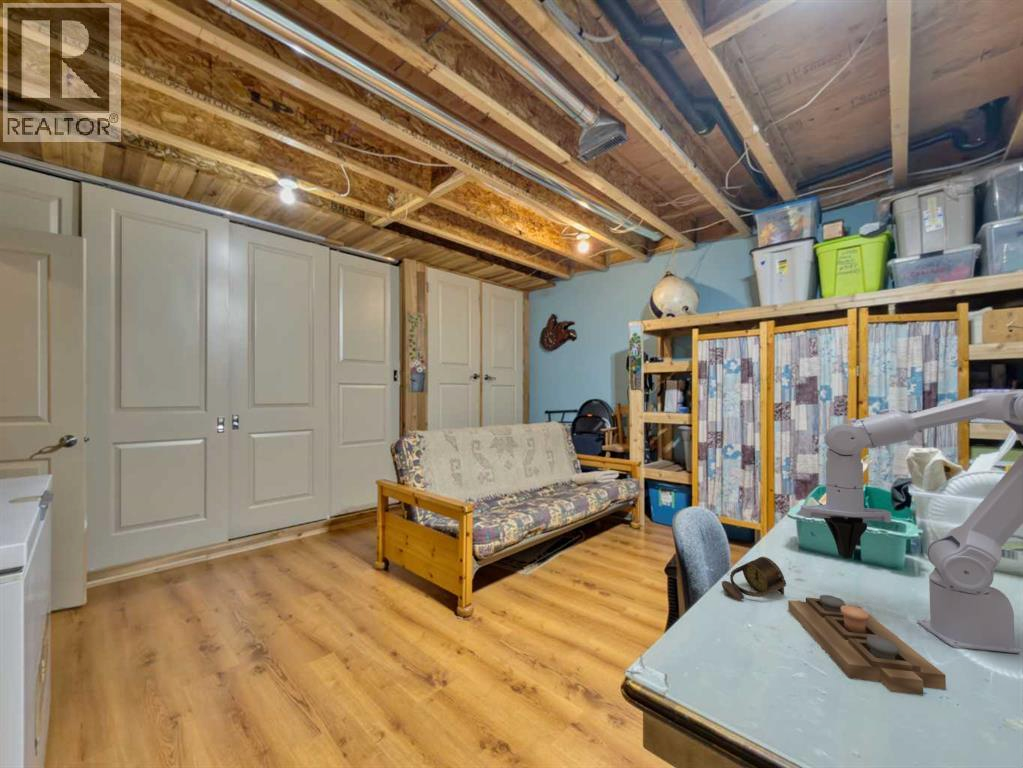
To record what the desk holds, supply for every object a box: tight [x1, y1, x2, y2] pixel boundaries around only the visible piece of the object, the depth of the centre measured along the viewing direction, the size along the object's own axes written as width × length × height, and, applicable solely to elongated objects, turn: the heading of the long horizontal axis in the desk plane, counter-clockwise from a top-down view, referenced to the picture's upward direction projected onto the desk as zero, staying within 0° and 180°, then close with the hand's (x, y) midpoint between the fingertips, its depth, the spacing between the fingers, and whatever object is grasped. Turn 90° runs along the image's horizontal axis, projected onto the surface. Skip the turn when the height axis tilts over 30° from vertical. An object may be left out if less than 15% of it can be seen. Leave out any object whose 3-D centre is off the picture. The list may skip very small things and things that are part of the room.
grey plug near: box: [867, 636, 898, 660], centre depth 64 cm, size 4×4×3 cm
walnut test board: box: [787, 597, 947, 696], centre depth 71 cm, size 12×24×3 cm, turn 169°
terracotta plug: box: [841, 604, 869, 634], centre depth 71 cm, size 4×4×3 cm
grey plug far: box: [819, 594, 845, 612], centre depth 78 cm, size 4×4×3 cm
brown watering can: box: [721, 556, 787, 601], centre depth 89 cm, size 7×13×10 cm
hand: (845, 556), depth 82 cm, fingers closed
